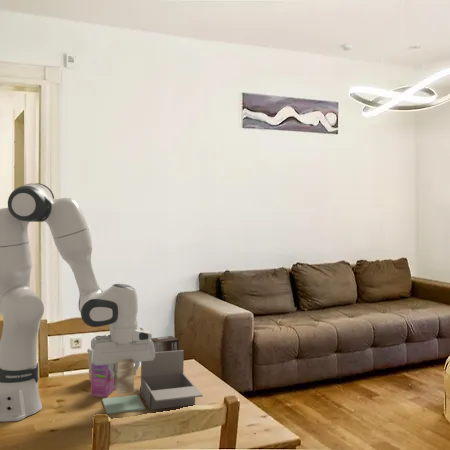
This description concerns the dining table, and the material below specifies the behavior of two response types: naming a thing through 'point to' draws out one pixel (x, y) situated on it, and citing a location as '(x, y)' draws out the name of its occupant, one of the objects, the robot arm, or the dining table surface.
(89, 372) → the coffee cup
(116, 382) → the capped box
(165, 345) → the coffee box
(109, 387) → the box
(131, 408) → the mat
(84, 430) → the dining table surface
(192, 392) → the carton
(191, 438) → the dining table surface
